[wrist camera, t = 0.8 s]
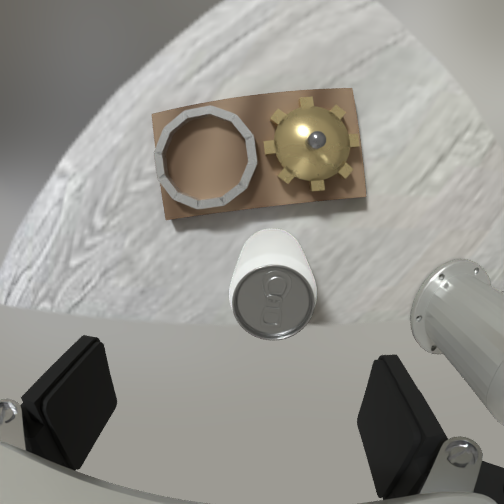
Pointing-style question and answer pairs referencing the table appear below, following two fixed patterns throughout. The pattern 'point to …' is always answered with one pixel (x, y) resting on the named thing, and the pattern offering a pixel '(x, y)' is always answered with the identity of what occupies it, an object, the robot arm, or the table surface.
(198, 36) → the table surface
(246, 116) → the gear board
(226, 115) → the ring
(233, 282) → the can
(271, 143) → the gear
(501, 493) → the robot arm
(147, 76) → the table surface
